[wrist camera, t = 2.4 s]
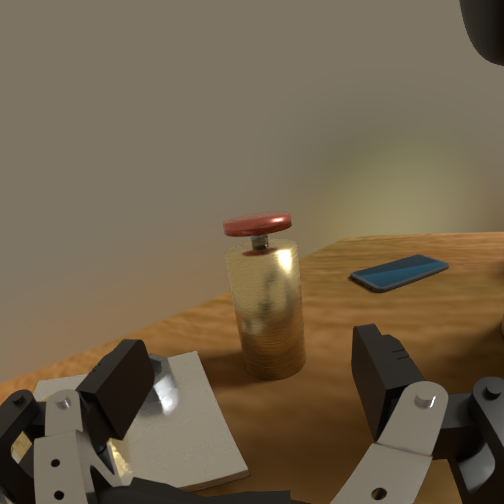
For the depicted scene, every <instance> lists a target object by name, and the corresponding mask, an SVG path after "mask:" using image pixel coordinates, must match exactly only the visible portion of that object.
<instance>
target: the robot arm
mask: <svg viewBox="0 0 504 504" xmlns="http://www.w3.org/2000/svg"><path fill="white" fill-rule="evenodd" d="M460 7H461V12H462V16H463V21H464V24H465V28H466V31H467V34H468V36H469V38H470V41H471V42H472V44H473V46H474V48H475V49H476V50H477V52H478V53H479V54H480V55H481V56H482V57H483V58H484V59H486V60H488V61H489V62H491V63H494V64H497V65H501V66H504V0H460ZM501 331H502V334H503V336H504V316H503V320H502V324H501ZM351 366H352V374H353V378H354V381H355V384H356V387H357V390H358V393H359V396H360V399H361V402H362V405H363V408H364V411H365V414H366V417H367V420H368V423H369V427H370V430H371V433H372V436H373V440H374V442H373V443H372V445H371V446H370V447H369V449H368V450H367V452H366V454H365V455H364V457H363V458H362V460H361V461H360V463H359V464H358V466H357V467H356V469H355V470H354V472H353V473H352V475H351V476H350V478H349V479H348V480H347V482H346V483H345V485H344V486H343V487H342V489H341V490H340V491H339V493H338V494H337V495H336V497H335V498H334V499H333V500H332V502H331V503H330V504H413V502H414V500H415V498H416V496H417V493H418V491H419V489H420V487H421V485H422V483H423V480H424V478H425V476H426V473H427V471H428V468H429V466H430V463H431V460H438V459H447V460H448V463H449V465H450V468H451V471H452V473H453V476H454V479H455V482H456V485H457V488H458V491H459V494H460V497H461V500H462V503H463V504H504V380H503V379H501V378H498V377H493V376H489V377H484V378H482V379H480V380H478V381H477V382H476V383H475V385H474V387H473V390H472V392H469V393H458V394H447V392H446V390H445V389H444V388H443V387H442V386H441V385H439V384H437V383H434V382H429V381H426V380H425V379H424V377H423V376H422V374H421V373H420V371H419V370H418V368H417V367H416V365H415V364H414V362H413V360H412V359H411V357H410V358H409V355H408V353H407V352H406V351H405V349H404V347H403V346H402V344H401V343H400V341H399V340H397V339H396V338H394V337H392V336H391V335H389V334H388V335H381V333H380V332H379V330H378V328H377V327H376V325H375V324H367V325H361V326H355V327H354V328H353V341H352V360H351ZM154 381H155V374H154V370H153V367H152V364H151V361H150V359H149V356H148V353H147V350H146V347H145V344H144V342H143V341H142V340H137V339H124V340H122V341H121V342H120V343H119V345H118V346H117V347H116V348H115V349H114V350H113V351H112V352H110V353H109V354H107V355H106V356H104V357H103V358H102V359H101V360H100V362H99V363H98V365H96V366H95V367H94V368H93V369H92V371H91V372H90V373H89V374H88V375H87V376H86V377H85V379H84V380H83V381H82V382H81V383H80V384H79V385H78V387H77V388H76V389H75V390H72V389H64V390H60V391H58V392H56V393H54V394H53V395H52V396H50V398H49V399H48V400H47V402H39V401H36V399H35V398H34V396H33V394H32V393H31V391H29V390H19V391H16V392H14V393H13V394H11V395H10V396H9V397H8V398H7V399H6V400H5V401H4V402H3V403H2V405H1V406H0V504H310V503H306V502H301V501H295V500H291V498H290V491H268V492H242V493H235V494H228V495H221V496H212V497H201V496H198V495H195V494H192V493H189V492H187V491H184V490H181V489H179V488H176V487H174V486H171V485H169V484H166V483H161V482H156V481H151V480H146V479H142V478H138V477H133V479H132V481H131V483H130V485H123V483H122V481H121V479H120V476H119V473H118V470H117V466H116V463H115V460H114V456H113V453H112V449H111V446H110V445H109V443H108V440H109V439H110V438H112V439H116V440H121V441H123V439H124V437H125V435H126V433H127V431H128V430H129V428H130V426H131V424H132V422H133V421H134V419H135V417H136V415H137V413H138V412H139V410H140V408H141V406H142V405H143V403H144V401H145V399H146V397H147V396H148V394H149V392H150V390H151V389H152V387H153V385H154ZM22 431H23V432H24V434H25V435H26V436H27V438H28V439H29V440H30V442H31V443H32V445H31V446H30V447H29V449H28V450H27V452H26V453H25V455H24V456H23V458H22V459H21V460H20V462H19V463H17V462H16V461H15V460H14V459H13V457H12V455H11V446H12V445H13V443H14V442H15V441H16V439H17V438H18V437H19V435H20V434H21V433H22ZM375 441H377V442H375Z"/></svg>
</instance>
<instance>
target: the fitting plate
mask: <svg viewBox="0 0 504 504" xmlns="http://www.w3.org/2000/svg"><path fill="white" fill-rule="evenodd" d="M148 356H149V359H150V361H151V364H152V367H153V370H154V374H155V381H154V385H153V387H152V389H151V390H150V392H149V394H148V396H147V397H146V399H145V401H144V403H143V405H142V406H141V408H140V410H139V412H138V413H137V415H136V417H135V419H134V421H133V422H132V424H131V426H130V428H129V430H128V431H127V433H126V435H125V437H124V439H123V441H121V440H116V439H112V438H110V439H109V440H108V443H109V445H110V446H111V449H112V453H113V456H114V460H115V463H116V466H117V470H118V473H119V476H120V479H121V481H122V483H123V485H130V483H131V481H132V479H133V477H138V478H142V479H146V480H151V481H156V482H161V483H166V484H169V485H171V486H174V487H176V488H179V489H181V490H184V491H187V492H192V491H196V490H201V489H205V488H209V487H213V486H217V485H221V484H224V483H228V482H231V481H235V480H238V479H241V478H244V477H247V476H250V473H249V470H248V468H247V466H246V464H245V462H244V460H243V458H242V456H241V454H240V452H239V449H238V447H237V445H236V443H235V441H234V439H233V437H232V435H231V433H230V430H229V428H228V426H227V424H226V422H225V419H224V417H223V415H222V413H221V410H220V408H219V406H218V403H217V401H216V399H215V396H214V394H213V391H212V389H211V387H210V384H209V382H208V379H207V377H206V374H205V372H204V369H203V367H202V364H201V361H200V359H199V356H198V353H197V351H193V352H189V353H185V354H181V355H177V356H173V357H169V358H165V357H162V356H158V355H155V354H151V353H150V354H148ZM87 375H88V374H84V375H78V376H71V377H64V378H57V379H49V380H41V381H39V382H38V384H37V386H36V389H35V391H34V394H33V396H34V398H35V399H36V401H39V402H47V400H48V399H49V398H50V396H52V395H53V394H54V393H56V392H58V391H60V390H64V389H72V390H75V389H76V388H77V387H78V385H79V384H80V383H81V382H82V381H83V380H84V379H85V377H86V376H87ZM31 445H32V443H31V442H30V440H29V439H28V438H27V436H26V435H25V434H24V432H23V431H22V433H21V434H20V435H19V437H18V438H17V439H16V441H15V442H14V443H13V445H12V447H13V448H14V450H13V453H12V457H13V459H14V460H15V461H16V462H17V463H19V462H20V460H21V459H22V458H23V456H24V455H25V453H26V452H27V450H28V449H29V447H30V446H31Z"/></svg>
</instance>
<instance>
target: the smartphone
mask: <svg viewBox="0 0 504 504" xmlns="http://www.w3.org/2000/svg"><path fill="white" fill-rule="evenodd" d="M448 268H449V265H448V263H446V262H443V261H440V260H437V259H434V258H431V257H428V256H424V255H414V256H410V257H407V258H403V259H400V260H396V261H393V262H389V263H386V264H382V265H379V266H375V267H371V268H368V269H364V270H360V271H356V272H353V273H351V279H352V280H354V279H355V280H357V282H358V283H359V284H362V285H364V286H365V287H367V288H368V289H372V291H374V292H377V293H383V292H387V291H390V290H393V289H396V288H399V287H401V286H404V285H407V284H410V283H412V282H415V281H418V280H421V279H423V278H426V277H428V276H431V275H434V274H436V273H439V272H441V271H444V270H446V269H448Z"/></svg>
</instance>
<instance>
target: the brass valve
mask: <svg viewBox="0 0 504 504" xmlns="http://www.w3.org/2000/svg"><path fill="white" fill-rule="evenodd" d="M223 226H224V233H225V235H227V236H233V237H241V236H243V237H244V236H251V242H247V243H243V244H239V245H236V246H234V247H231V248H229V249H228V250H227V251H226V252H225V257H226V263H227V268H228V275H229V281H230V286H231V292H232V298H233V303H234V309H235V314H236V320H237V325H238V331H239V336H240V342H241V347H242V352H243V357H244V362H245V367H246V370H247V371H248V372H249V373H250V374H251V375H252V376H254V377H256V378H259V379H264V380H278V379H283V378H287V377H290V376H292V375H294V374H296V373H297V372H298V371H300V370H301V369H302V367H303V366H304V364H305V361H306V356H305V339H304V324H303V310H302V297H301V285H300V273H299V263H298V252H297V244H296V242H294V241H292V240H287V239H268V235H267V234H269V233H274V232H278V231H282V230H285V229H287V228H289V227H291V226H292V223H291V214H290V213H288V212H266V213H258V214H251V215H244V216H240V217H236V218H231V219H229V220H226V221H224V222H223Z"/></svg>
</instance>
